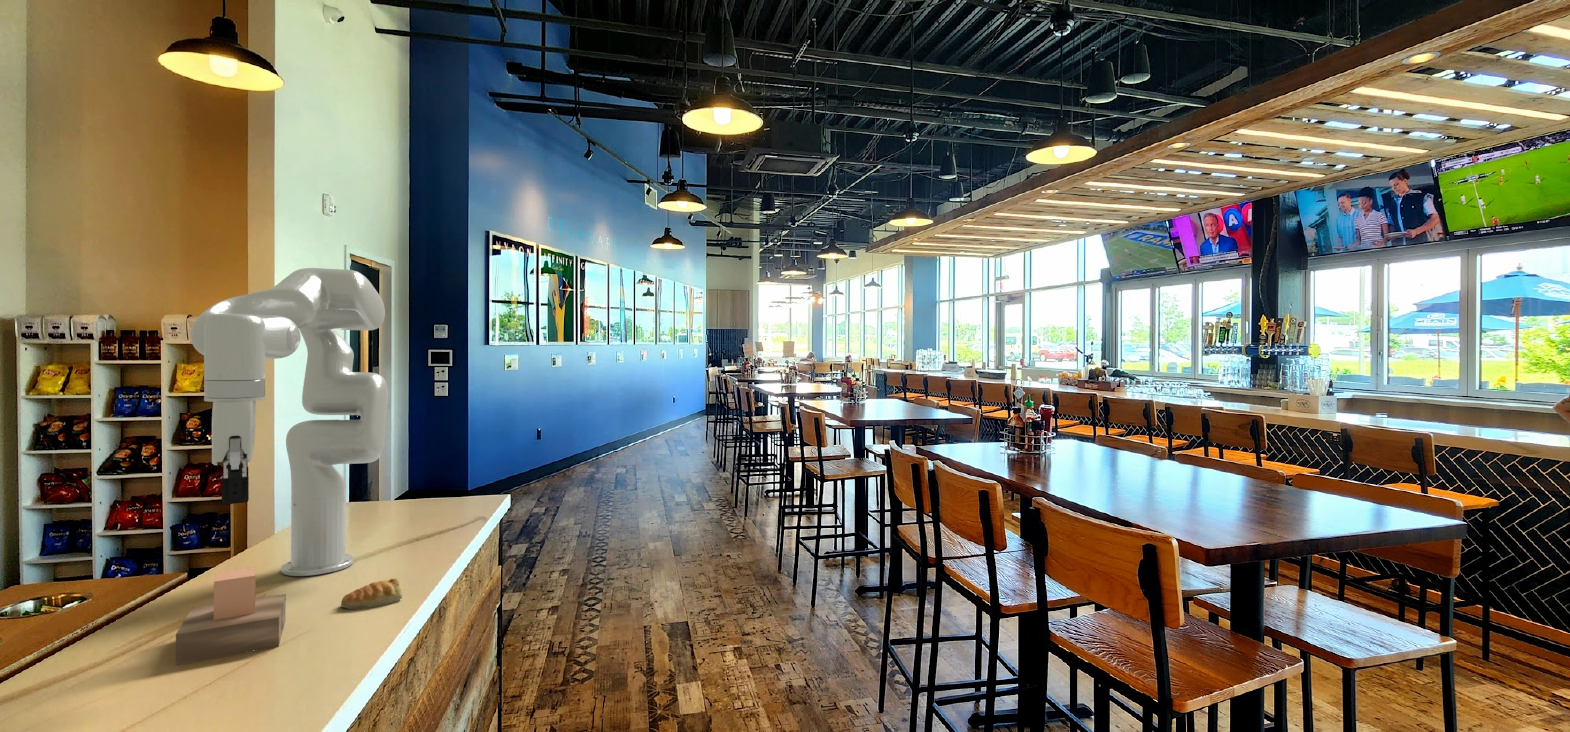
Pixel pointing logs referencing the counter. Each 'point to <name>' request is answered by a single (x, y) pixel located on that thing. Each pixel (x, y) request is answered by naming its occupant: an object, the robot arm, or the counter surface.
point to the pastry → (373, 595)
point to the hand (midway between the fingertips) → (235, 497)
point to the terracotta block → (234, 593)
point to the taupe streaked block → (230, 631)
